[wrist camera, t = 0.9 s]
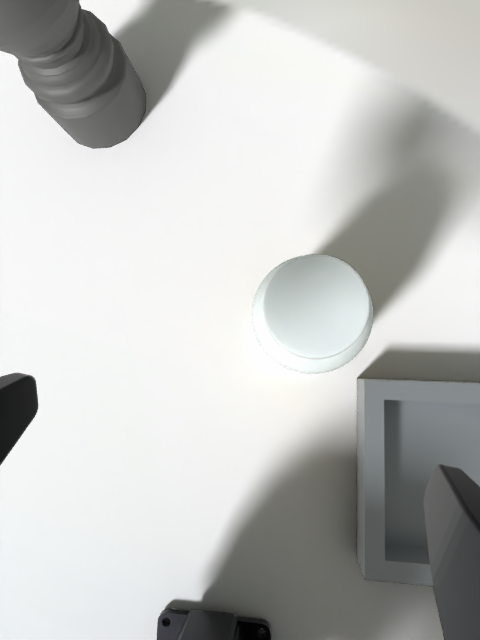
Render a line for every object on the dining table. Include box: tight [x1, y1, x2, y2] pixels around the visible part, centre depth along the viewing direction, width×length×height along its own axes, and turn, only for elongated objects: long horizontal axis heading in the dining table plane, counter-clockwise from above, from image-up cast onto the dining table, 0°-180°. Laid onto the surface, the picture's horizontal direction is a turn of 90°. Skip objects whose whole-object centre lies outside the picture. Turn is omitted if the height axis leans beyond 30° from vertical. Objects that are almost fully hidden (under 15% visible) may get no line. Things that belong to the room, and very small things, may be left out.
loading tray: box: [357, 378, 480, 586], centre depth 22 cm, size 10×10×2 cm
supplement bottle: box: [252, 254, 373, 374], centre depth 20 cm, size 5×5×10 cm
